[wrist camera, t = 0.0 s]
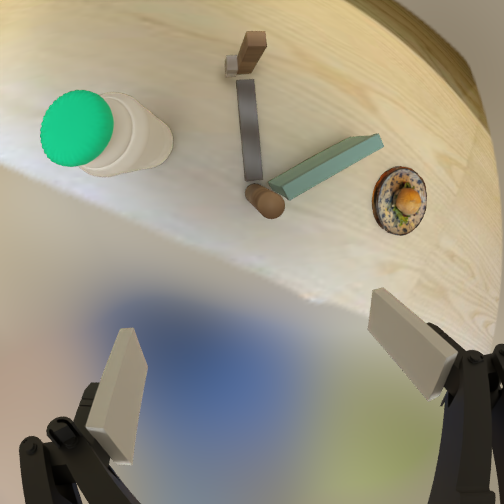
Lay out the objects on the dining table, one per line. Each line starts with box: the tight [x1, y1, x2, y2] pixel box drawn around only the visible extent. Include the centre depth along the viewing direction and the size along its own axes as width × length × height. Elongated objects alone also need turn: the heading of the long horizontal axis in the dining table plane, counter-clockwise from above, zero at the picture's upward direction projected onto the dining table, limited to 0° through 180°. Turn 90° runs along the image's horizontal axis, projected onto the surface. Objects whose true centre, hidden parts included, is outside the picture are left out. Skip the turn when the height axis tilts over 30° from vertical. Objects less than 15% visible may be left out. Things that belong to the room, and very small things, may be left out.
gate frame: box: [225, 31, 285, 219], centre depth 32 cm, size 21×4×11 cm, turn 5°
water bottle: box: [40, 90, 173, 177], centre depth 24 cm, size 7×7×25 cm
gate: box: [268, 134, 384, 201], centre depth 35 cm, size 14×2×8 cm, turn 120°
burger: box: [372, 166, 427, 236], centre depth 41 cm, size 12×12×8 cm
